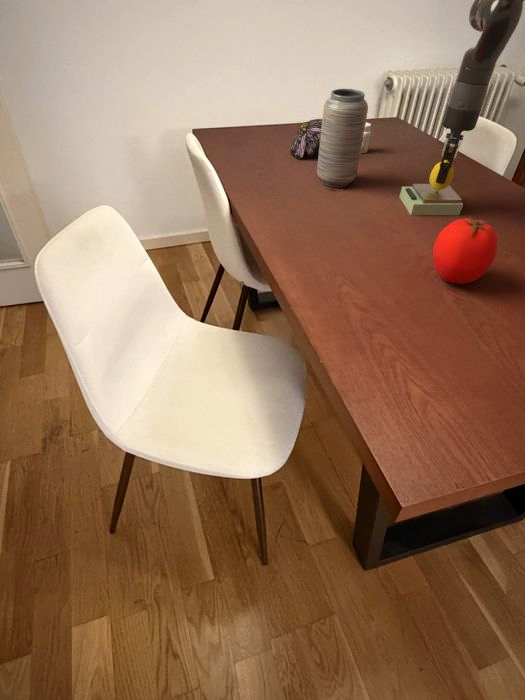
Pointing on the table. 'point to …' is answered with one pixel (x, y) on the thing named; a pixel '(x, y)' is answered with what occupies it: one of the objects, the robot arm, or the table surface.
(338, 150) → the vase
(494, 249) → the tomato
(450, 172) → the lemon
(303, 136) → the decorative flower
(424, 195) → the scale pan
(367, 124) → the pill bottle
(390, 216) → the table surface
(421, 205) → the scale
